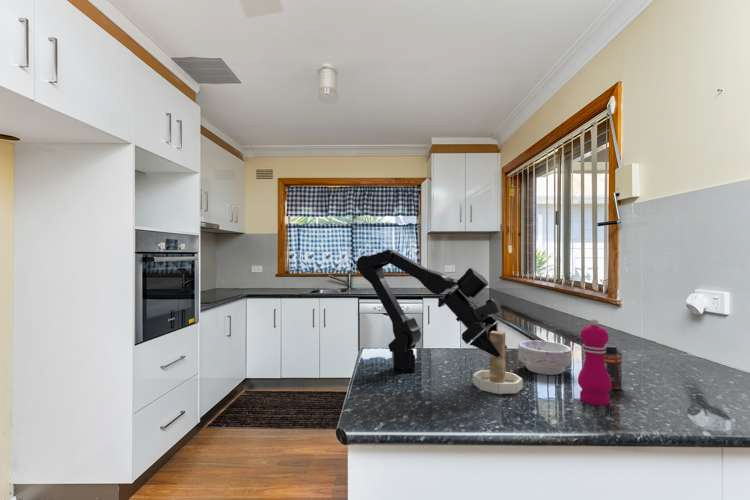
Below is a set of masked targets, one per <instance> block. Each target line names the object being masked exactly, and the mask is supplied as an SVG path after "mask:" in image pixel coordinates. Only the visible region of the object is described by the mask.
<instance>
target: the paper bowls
mask: <svg viewBox="0 0 750 500" xmlns="http://www.w3.org/2000/svg"><path fill="white" fill-rule="evenodd" d="M517 347H518V351H517V352H518V353H517V354H518V357H517V358H518V360H519V361H520V362H522V363H523V364H524V366H525V368H526V369H527V370H528V371H529V372H532V373H535V374H539V375H546V376H555V375H560V374H562V373H564V371H565V369H566V368H569V367H570V366H571V365H572V363H573V362H572V361H573V359H572V356H573V354H572V348H571V346H568V345H565V344H564V343H560V342H556V341H555V342H554V341H548V340H536V339H535V340H523V341H521V342H519V343H518V346H517Z"/></svg>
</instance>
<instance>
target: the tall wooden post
mask: <svg viewBox="0 0 750 500" xmlns="http://www.w3.org/2000/svg"><path fill="white" fill-rule="evenodd" d="M490 340H491V341H492V343H493V344H494V345H495V347H496V348H497V350H498V351H499V353H500V356H499V357H496V356H494V355H492V354H490V353H489V370H490V381H491V382H496V383H505V372H506V349H505V344H506V332H505V331H499V330H498V331H492V332H490Z"/></svg>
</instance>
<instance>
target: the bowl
mask: <svg viewBox="0 0 750 500" xmlns="http://www.w3.org/2000/svg"><path fill="white" fill-rule="evenodd" d="M523 383H524V382H523V378H522V377H521V376H519V375H517V374H516V373H513V372H509V371H505V383H496V382H491V381H490V369H484V370H483V369H481V370H477V371H476V372H474V373H473V374H472V385H474V386H475V387H476V388H477V389H478V390H480V391H483V392H484V391H485V392H488V393H493V394H498V395H503V394H504V395H505V394H506V395H507V394H517V393H520V391H521V390H522V389H523V385H524V384H523Z"/></svg>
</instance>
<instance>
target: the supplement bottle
mask: <svg viewBox="0 0 750 500" xmlns="http://www.w3.org/2000/svg"><path fill="white" fill-rule="evenodd" d="M604 346H605V347H606V353H604V364H605V368H606V370H607V372H608V374H609V377H610V379H611V384H612V388H611V390H612V391H619V390H620V389H622V385H623V383H622V382H623V381H622V357H621V355H620V354H619V353H618V352H617V351H618V349H617V345H614V344H609V343H606V344H605V345H604ZM611 390H610V391H611Z"/></svg>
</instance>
